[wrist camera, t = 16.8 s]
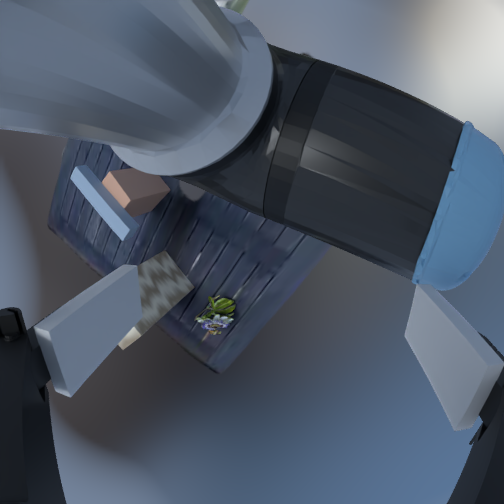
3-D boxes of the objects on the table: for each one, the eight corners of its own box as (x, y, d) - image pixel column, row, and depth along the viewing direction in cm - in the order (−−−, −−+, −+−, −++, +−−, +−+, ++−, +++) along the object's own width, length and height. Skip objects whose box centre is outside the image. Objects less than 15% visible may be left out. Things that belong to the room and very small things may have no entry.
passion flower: (229, 311, 102) (206, 337, 96) (209, 287, 99) (184, 313, 93) (248, 313, 93) (223, 342, 87) (226, 286, 90) (198, 316, 84)
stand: (147, 267, 100) (87, 304, 72) (165, 250, 96) (102, 286, 68) (175, 302, 100) (122, 349, 73) (194, 287, 96) (141, 335, 69)
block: (133, 187, 92) (91, 197, 74) (151, 165, 88) (109, 171, 70) (151, 211, 93) (110, 225, 75) (170, 190, 89) (130, 200, 71)
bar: (80, 176, 74) (70, 178, 70) (86, 164, 72) (75, 166, 68) (132, 236, 74) (122, 241, 70) (139, 225, 72) (129, 229, 69)
